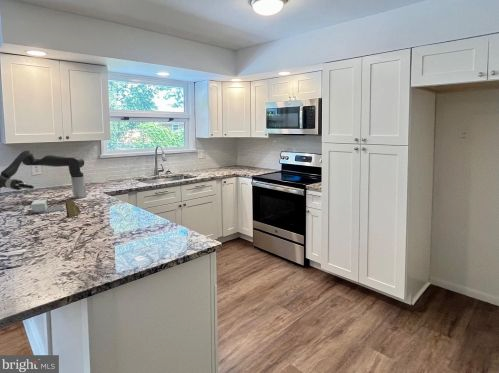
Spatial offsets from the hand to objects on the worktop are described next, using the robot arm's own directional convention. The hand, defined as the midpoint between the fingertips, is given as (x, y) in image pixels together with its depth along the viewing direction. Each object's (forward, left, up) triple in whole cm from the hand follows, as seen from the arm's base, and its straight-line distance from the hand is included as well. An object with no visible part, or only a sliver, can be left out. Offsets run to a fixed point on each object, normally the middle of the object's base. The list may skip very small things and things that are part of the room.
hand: (32, 187), depth 245 cm
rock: (-14, +49, -14) cm, 53 cm away
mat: (-5, +22, -14) cm, 27 cm away
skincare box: (-1, +12, -11) cm, 16 cm away
